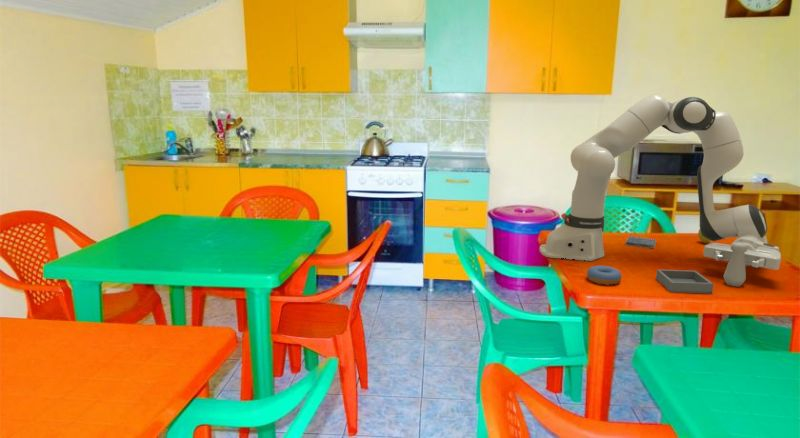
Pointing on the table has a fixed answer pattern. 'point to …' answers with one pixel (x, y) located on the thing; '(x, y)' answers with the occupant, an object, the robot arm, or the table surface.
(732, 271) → the salt shaker
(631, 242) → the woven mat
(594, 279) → the doughnut
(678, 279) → the tray
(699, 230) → the lemon
